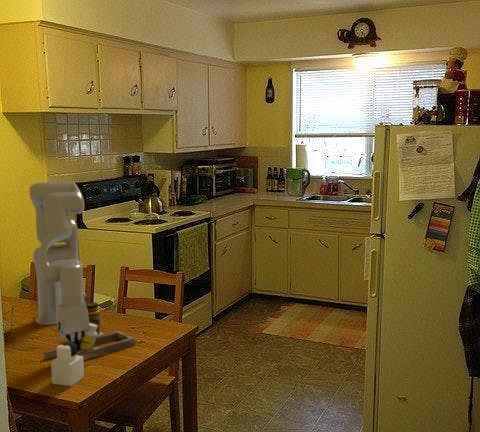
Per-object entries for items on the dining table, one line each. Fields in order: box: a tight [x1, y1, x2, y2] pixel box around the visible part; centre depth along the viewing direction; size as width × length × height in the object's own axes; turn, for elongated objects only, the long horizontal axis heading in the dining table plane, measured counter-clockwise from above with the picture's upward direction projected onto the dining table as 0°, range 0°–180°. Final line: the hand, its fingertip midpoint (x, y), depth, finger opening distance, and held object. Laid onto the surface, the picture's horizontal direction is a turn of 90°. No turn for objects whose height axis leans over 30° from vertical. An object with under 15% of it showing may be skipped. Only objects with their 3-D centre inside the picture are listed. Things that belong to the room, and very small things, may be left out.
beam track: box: [43, 330, 136, 362], centre depth 197 cm, size 14×30×3 cm, turn 134°
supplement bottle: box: [78, 323, 98, 353], centre depth 194 cm, size 5×5×10 cm
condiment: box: [86, 301, 104, 337], centre depth 212 cm, size 7×8×12 cm
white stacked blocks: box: [50, 341, 85, 387], centre depth 172 cm, size 7×7×12 cm
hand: (75, 350), depth 191 cm, fingers closed
